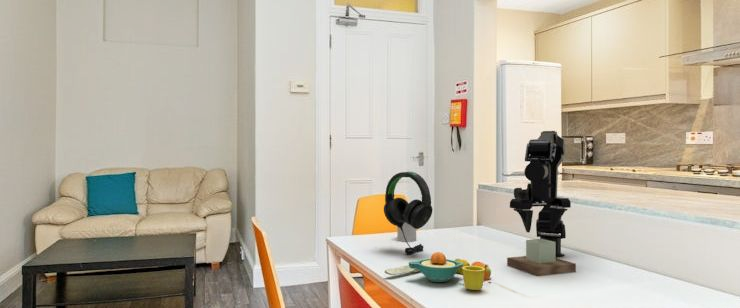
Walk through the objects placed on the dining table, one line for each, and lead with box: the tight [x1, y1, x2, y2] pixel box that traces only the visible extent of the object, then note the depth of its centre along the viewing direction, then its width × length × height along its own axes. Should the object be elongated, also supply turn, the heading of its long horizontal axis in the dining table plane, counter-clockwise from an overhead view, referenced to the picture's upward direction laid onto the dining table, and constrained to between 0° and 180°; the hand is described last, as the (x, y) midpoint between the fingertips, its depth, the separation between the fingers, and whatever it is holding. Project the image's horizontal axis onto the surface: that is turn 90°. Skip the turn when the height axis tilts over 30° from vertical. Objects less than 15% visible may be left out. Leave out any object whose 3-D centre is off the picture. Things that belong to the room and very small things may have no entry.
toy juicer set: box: [384, 251, 492, 291], centre depth 137 cm, size 29×18×8 cm, turn 59°
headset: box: [383, 171, 433, 256], centre depth 167 cm, size 18×14×29 cm
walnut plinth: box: [506, 255, 577, 277], centre depth 146 cm, size 14×14×2 cm
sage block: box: [525, 238, 557, 263], centre depth 146 cm, size 6×6×6 cm
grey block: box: [396, 222, 417, 243], centre depth 190 cm, size 8×8×12 cm
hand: (540, 231), depth 146 cm, fingers open, 9 cm apart
